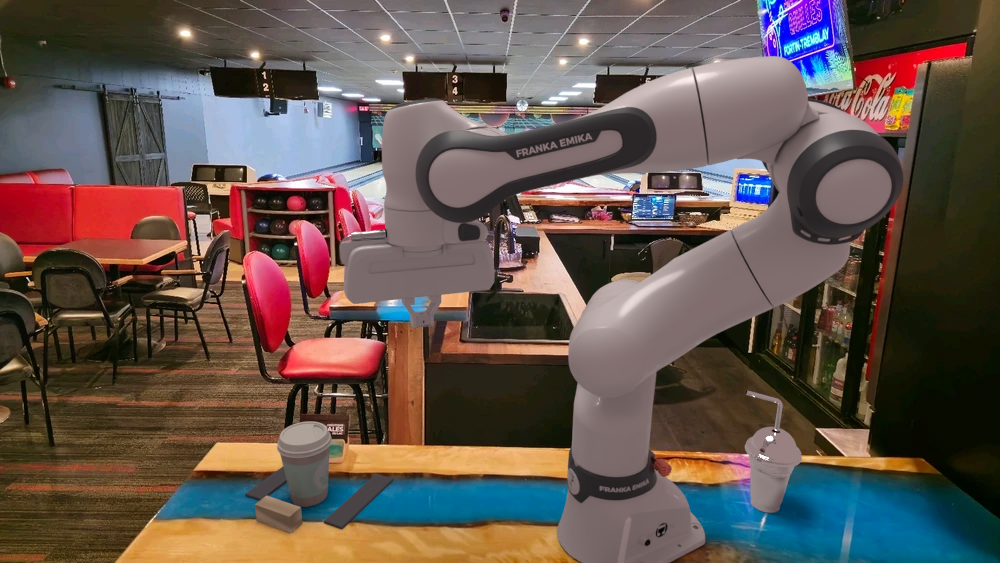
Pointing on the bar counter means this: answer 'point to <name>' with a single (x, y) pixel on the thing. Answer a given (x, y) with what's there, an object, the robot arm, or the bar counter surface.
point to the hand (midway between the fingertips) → (422, 325)
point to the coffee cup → (306, 461)
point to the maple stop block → (278, 514)
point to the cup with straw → (770, 462)
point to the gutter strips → (344, 511)
